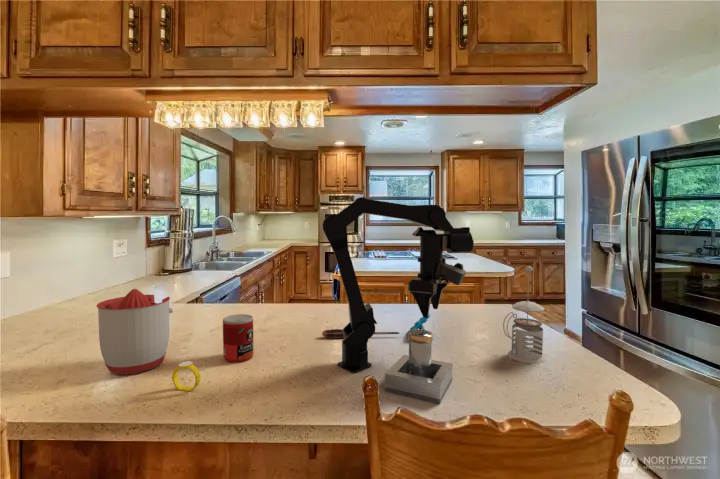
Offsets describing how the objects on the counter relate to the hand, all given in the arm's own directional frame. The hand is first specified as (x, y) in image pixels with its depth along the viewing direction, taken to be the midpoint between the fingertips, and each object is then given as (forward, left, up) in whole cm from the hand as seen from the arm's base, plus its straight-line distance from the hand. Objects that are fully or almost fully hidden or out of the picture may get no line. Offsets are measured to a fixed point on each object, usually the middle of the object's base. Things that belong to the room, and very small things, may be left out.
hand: (430, 313), depth 93 cm
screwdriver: (-27, -1, -14) cm, 30 cm away
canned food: (-36, -37, -13) cm, 53 cm away
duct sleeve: (+7, -13, -12) cm, 19 cm away
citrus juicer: (-48, -58, -13) cm, 76 cm away
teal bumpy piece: (-15, +14, -13) cm, 25 cm away
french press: (+15, +22, -13) cm, 30 cm away
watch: (-26, -53, -13) cm, 60 cm away
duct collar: (+7, -13, -13) cm, 19 cm away
